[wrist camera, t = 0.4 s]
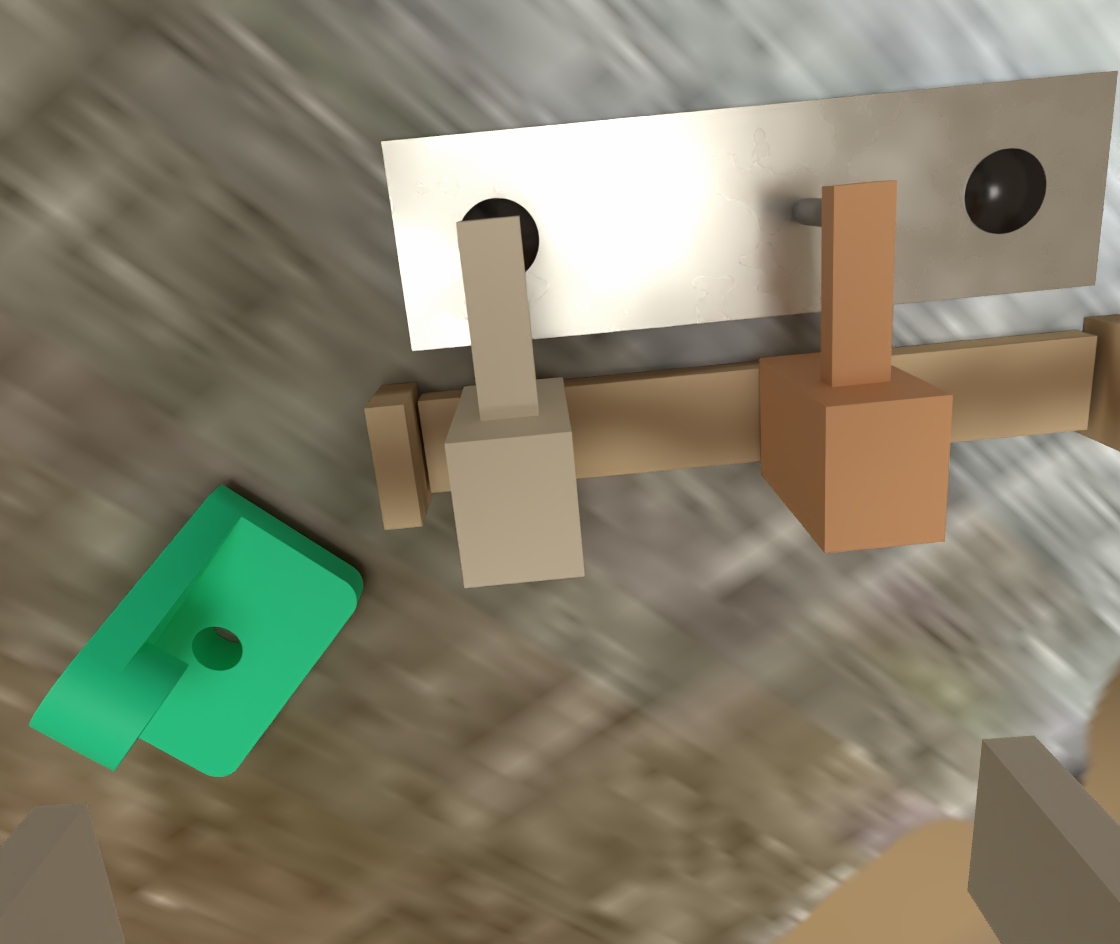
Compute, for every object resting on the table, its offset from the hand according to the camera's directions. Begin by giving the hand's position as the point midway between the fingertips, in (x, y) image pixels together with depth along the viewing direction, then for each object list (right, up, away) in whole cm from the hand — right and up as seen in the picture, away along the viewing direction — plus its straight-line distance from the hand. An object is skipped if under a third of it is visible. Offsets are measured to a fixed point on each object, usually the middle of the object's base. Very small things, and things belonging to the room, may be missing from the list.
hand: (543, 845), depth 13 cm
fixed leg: (-2, +10, +22) cm, 24 cm away
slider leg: (+10, +11, +22) cm, 26 cm away
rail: (+8, +8, +24) cm, 27 cm away
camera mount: (-15, -1, +27) cm, 31 cm away
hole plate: (+8, +16, +22) cm, 28 cm away
